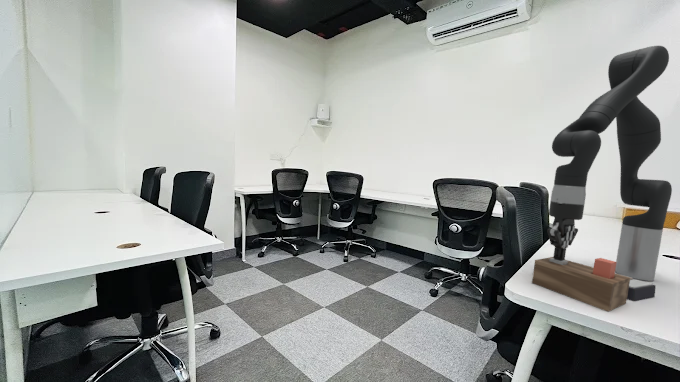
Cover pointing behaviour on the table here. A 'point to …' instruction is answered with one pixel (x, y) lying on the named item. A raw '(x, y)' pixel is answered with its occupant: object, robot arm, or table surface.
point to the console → (581, 283)
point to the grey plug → (558, 261)
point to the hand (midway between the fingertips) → (558, 259)
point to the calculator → (640, 290)
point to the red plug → (604, 268)
